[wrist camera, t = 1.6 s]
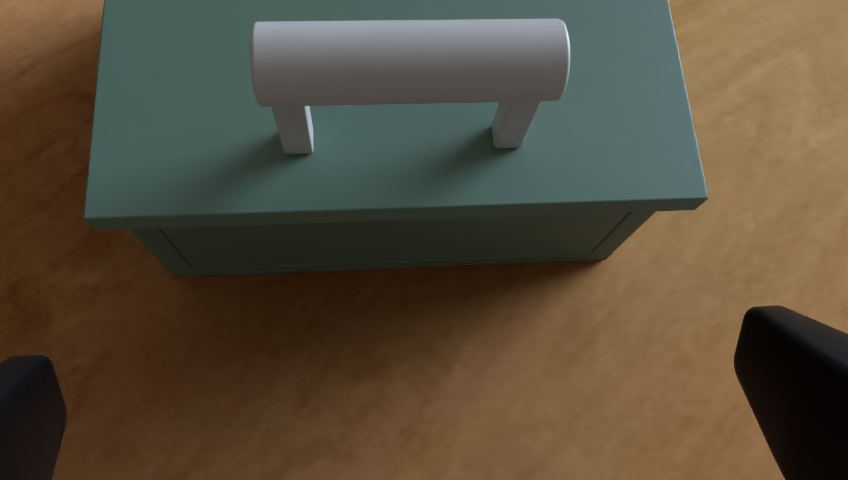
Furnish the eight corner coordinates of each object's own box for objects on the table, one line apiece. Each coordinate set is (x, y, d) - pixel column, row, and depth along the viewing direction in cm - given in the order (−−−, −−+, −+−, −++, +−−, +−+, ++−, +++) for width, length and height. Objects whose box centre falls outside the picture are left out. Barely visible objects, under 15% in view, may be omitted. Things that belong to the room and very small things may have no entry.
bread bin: (606, 260, 25) (688, 182, 18) (173, 277, 23) (99, 200, 17) (564, -19, 28) (620, -165, 22) (188, -17, 27) (131, -172, 21)
